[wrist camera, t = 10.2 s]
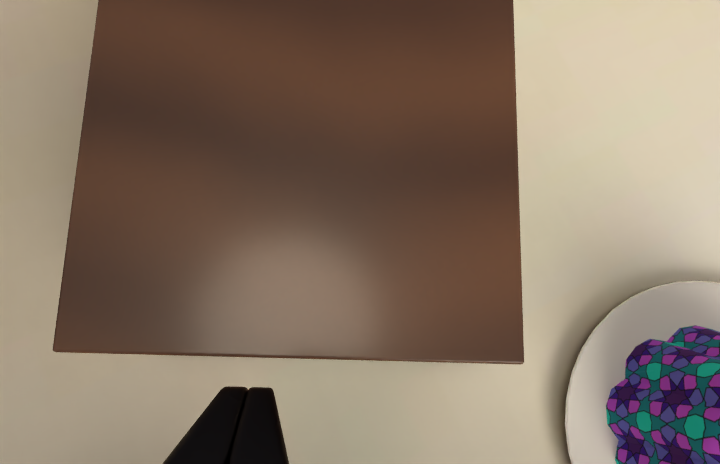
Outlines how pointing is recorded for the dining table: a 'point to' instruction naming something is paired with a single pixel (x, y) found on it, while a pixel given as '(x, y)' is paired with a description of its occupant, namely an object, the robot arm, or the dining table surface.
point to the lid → (298, 182)
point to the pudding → (650, 381)
